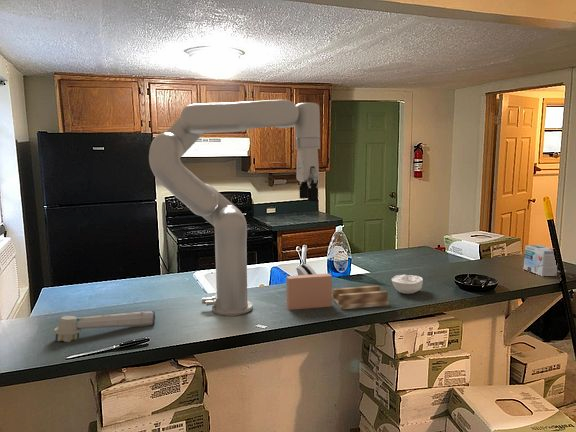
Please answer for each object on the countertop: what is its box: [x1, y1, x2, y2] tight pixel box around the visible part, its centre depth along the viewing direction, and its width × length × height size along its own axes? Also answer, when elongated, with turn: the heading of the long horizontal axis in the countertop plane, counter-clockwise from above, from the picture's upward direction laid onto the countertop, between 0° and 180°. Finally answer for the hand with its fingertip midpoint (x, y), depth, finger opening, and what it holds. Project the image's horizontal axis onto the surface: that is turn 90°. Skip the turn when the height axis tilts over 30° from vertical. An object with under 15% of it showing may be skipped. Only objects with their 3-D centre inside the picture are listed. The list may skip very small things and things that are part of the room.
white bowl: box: [391, 274, 424, 295], centre depth 151 cm, size 10×12×7 cm
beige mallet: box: [54, 310, 156, 343], centre depth 118 cm, size 5×7×25 cm
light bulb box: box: [523, 244, 558, 276], centre depth 173 cm, size 11×7×11 cm, turn 10°
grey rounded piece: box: [295, 263, 317, 275], centre depth 154 cm, size 17×5×10 cm, turn 14°
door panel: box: [285, 273, 333, 311], centre depth 137 cm, size 14×3×10 cm, turn 102°
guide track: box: [332, 284, 390, 310], centre depth 141 cm, size 16×10×4 cm, turn 102°
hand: (308, 199), depth 135 cm, fingers open, 9 cm apart
